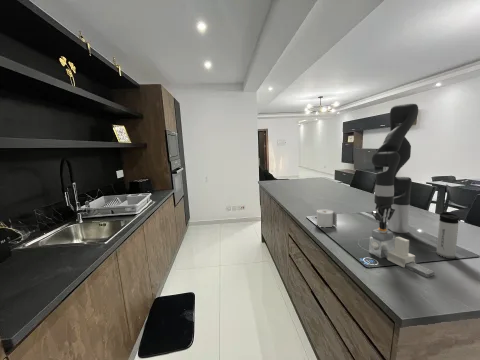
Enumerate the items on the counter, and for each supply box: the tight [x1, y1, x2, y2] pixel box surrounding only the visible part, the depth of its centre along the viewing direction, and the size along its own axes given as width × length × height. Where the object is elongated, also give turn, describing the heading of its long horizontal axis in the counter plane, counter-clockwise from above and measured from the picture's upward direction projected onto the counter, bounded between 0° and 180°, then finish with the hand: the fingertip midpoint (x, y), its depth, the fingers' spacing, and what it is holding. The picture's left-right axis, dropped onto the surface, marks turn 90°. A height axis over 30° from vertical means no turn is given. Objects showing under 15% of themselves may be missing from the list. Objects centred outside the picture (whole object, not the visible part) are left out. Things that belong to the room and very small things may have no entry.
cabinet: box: [368, 228, 395, 259], centre depth 101 cm, size 6×9×12 cm, turn 109°
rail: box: [383, 253, 436, 278], centre depth 91 cm, size 18×4×2 cm, turn 19°
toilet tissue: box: [316, 208, 338, 228], centre depth 140 cm, size 11×12×10 cm
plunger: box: [377, 227, 388, 233], centre depth 100 cm, size 3×3×5 cm
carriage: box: [387, 236, 416, 269], centre depth 93 cm, size 7×7×11 cm
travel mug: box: [436, 211, 460, 259], centre depth 96 cm, size 6×7×20 cm
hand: (382, 228), depth 100 cm, fingers closed
